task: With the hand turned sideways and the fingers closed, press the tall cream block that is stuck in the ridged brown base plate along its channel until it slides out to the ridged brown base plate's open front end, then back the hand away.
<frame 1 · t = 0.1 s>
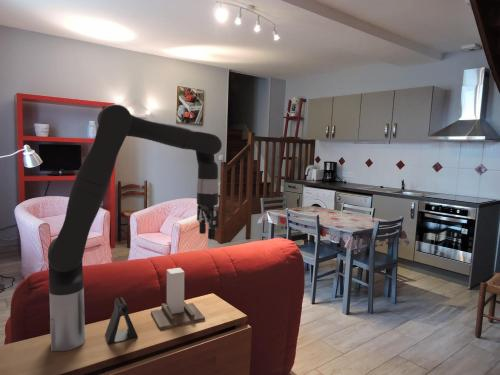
hand: (206, 236, 127), 29 cm above the table, tool pointing down, fingers open, 8 cm apart
ridged brown base plate: (177, 316, 127), on the table
phone stand: (121, 337, 113), on the table
cream block: (175, 290, 129), point 9 cm above the table, slide at 0.0 cm
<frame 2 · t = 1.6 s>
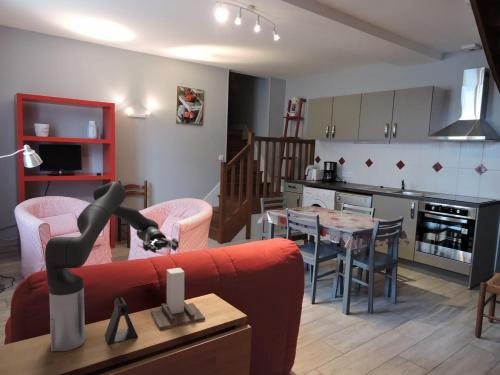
hand: (165, 249, 140), 20 cm above the table, tool horizontal, fingers open, 7 cm apart
nothing on the table moved.
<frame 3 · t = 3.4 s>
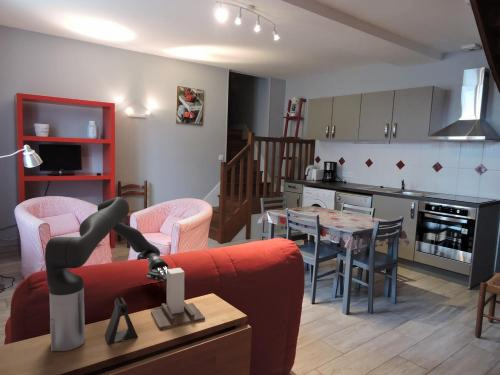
hand: (168, 280, 137), 9 cm above the table, tool horizontal, fingers closed
nothing on the table moved.
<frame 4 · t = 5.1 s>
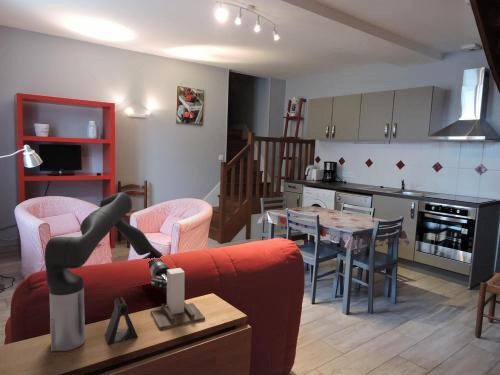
hand: (173, 287, 131), 9 cm above the table, tool horizontal, fingers closed
cream block: (175, 290, 129), point 9 cm above the table, slide at 0.3 cm, touching gripper
everything else where it was.
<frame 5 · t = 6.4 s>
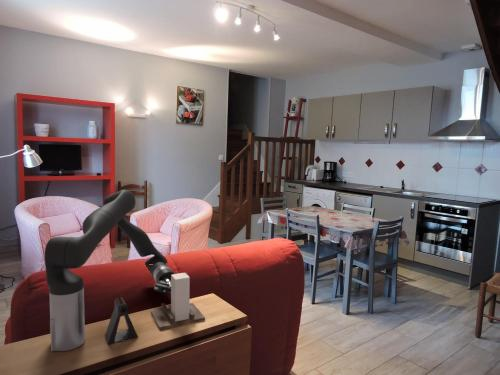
hand: (177, 293, 126), 9 cm above the table, tool horizontal, fingers closed
cream block: (180, 296, 124), point 9 cm above the table, slide at 5.8 cm, touching gripper
everything else where it was.
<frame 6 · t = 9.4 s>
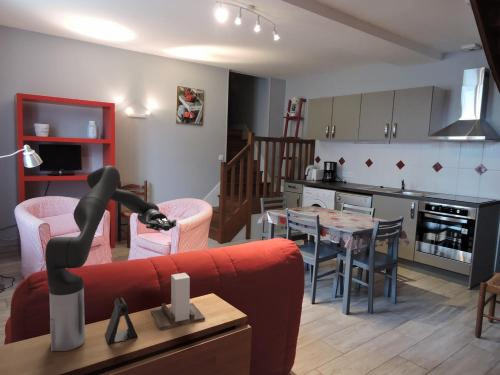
hand: (167, 228, 137), 29 cm above the table, tool horizontal, fingers closed
cream block: (180, 296, 124), point 9 cm above the table, slide at 5.9 cm
everything else where it was.
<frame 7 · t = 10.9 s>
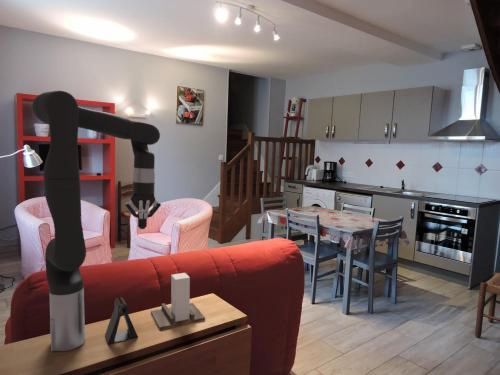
hand: (142, 228, 128), 31 cm above the table, tool pointing down, fingers closed
nothing on the table moved.
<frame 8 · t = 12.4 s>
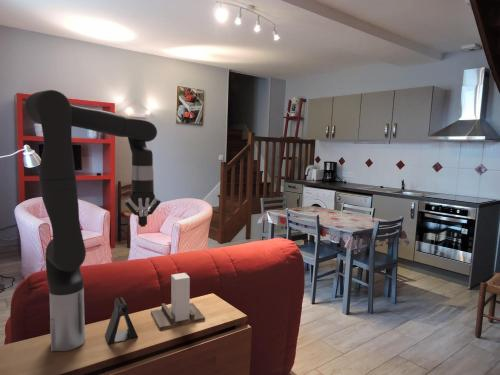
hand: (142, 226, 127), 32 cm above the table, tool pointing down, fingers closed
nothing on the table moved.
at the end: cream block slide at 5.9 cm; phone stand moved 0.3 cm from its start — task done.
